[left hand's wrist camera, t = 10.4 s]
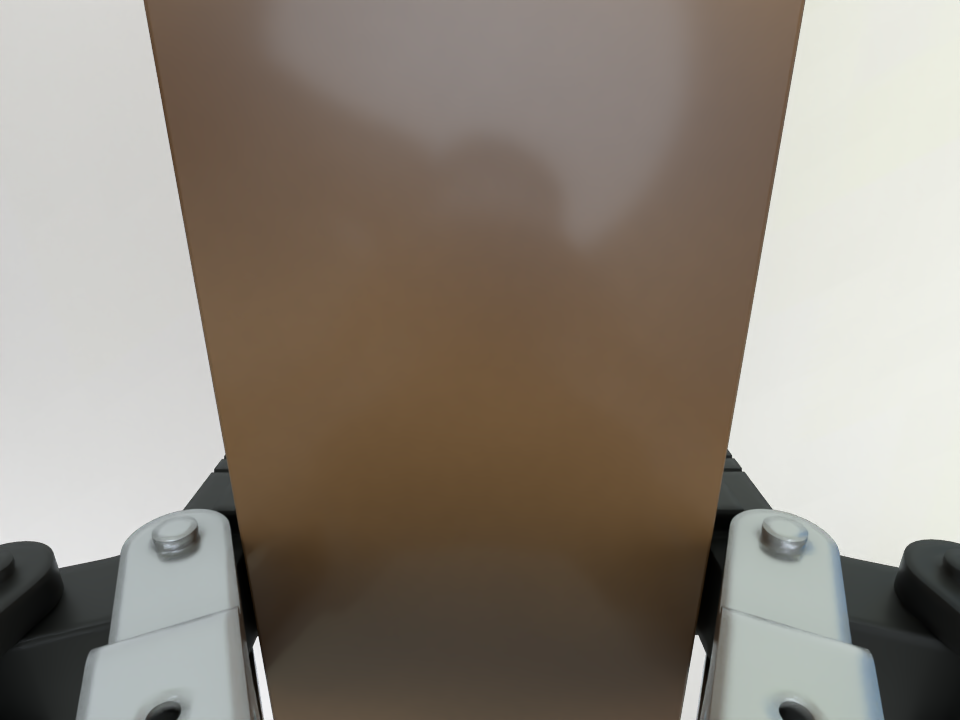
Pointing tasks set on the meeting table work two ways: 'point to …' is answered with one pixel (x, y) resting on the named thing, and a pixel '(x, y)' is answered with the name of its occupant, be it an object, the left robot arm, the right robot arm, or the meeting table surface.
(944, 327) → the meeting table surface
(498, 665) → the box
